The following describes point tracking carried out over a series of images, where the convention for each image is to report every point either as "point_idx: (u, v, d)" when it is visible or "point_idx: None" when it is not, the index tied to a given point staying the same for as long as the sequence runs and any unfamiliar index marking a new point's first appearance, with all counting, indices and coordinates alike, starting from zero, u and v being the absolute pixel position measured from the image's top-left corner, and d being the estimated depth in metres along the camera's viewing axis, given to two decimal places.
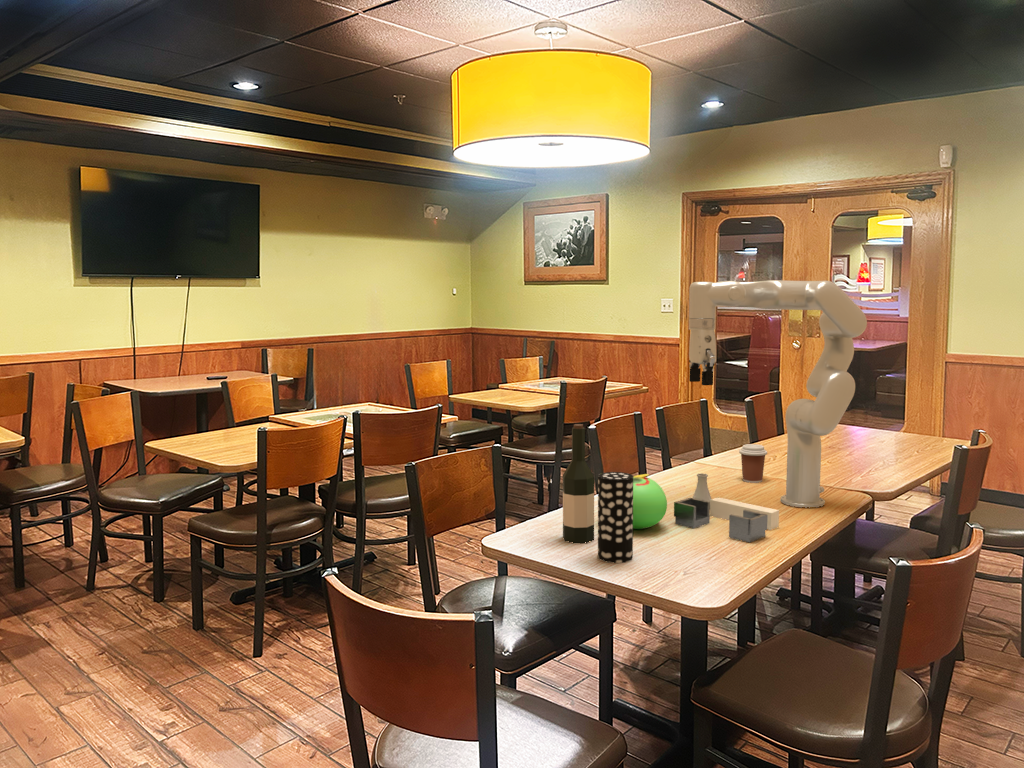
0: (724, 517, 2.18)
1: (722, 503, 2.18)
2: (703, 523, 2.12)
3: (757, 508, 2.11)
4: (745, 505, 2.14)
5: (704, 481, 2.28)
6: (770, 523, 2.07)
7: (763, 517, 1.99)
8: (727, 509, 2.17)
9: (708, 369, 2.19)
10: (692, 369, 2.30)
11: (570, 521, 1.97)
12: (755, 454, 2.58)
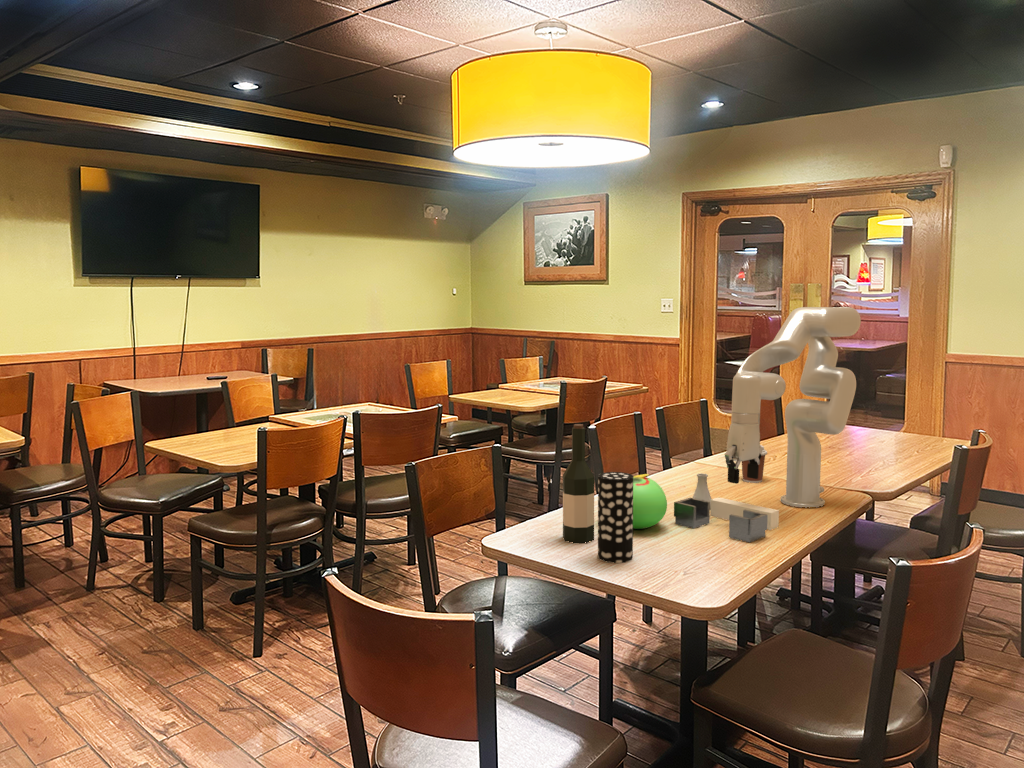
0: (724, 517, 2.18)
1: (722, 503, 2.18)
2: (703, 523, 2.12)
3: (757, 508, 2.11)
4: (745, 505, 2.14)
5: (704, 481, 2.28)
6: (770, 523, 2.07)
7: (763, 517, 1.99)
8: (727, 509, 2.17)
9: None
10: None
11: (570, 521, 1.97)
12: None
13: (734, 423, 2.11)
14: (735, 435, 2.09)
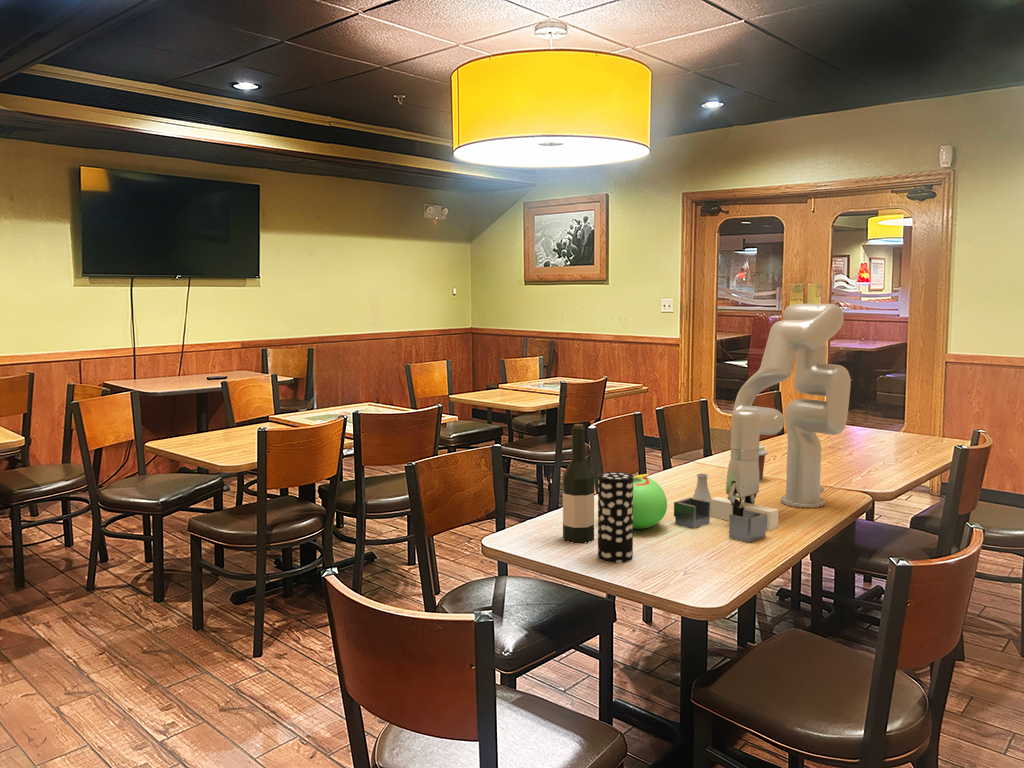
0: (723, 516, 2.17)
1: (722, 502, 2.18)
2: (703, 523, 2.12)
3: (756, 507, 2.11)
4: (745, 504, 2.14)
5: (704, 481, 2.28)
6: (769, 522, 2.07)
7: (763, 517, 1.99)
8: (726, 508, 2.17)
9: None
10: None
11: (570, 521, 1.97)
12: None
13: (733, 459, 2.12)
14: (735, 472, 2.11)
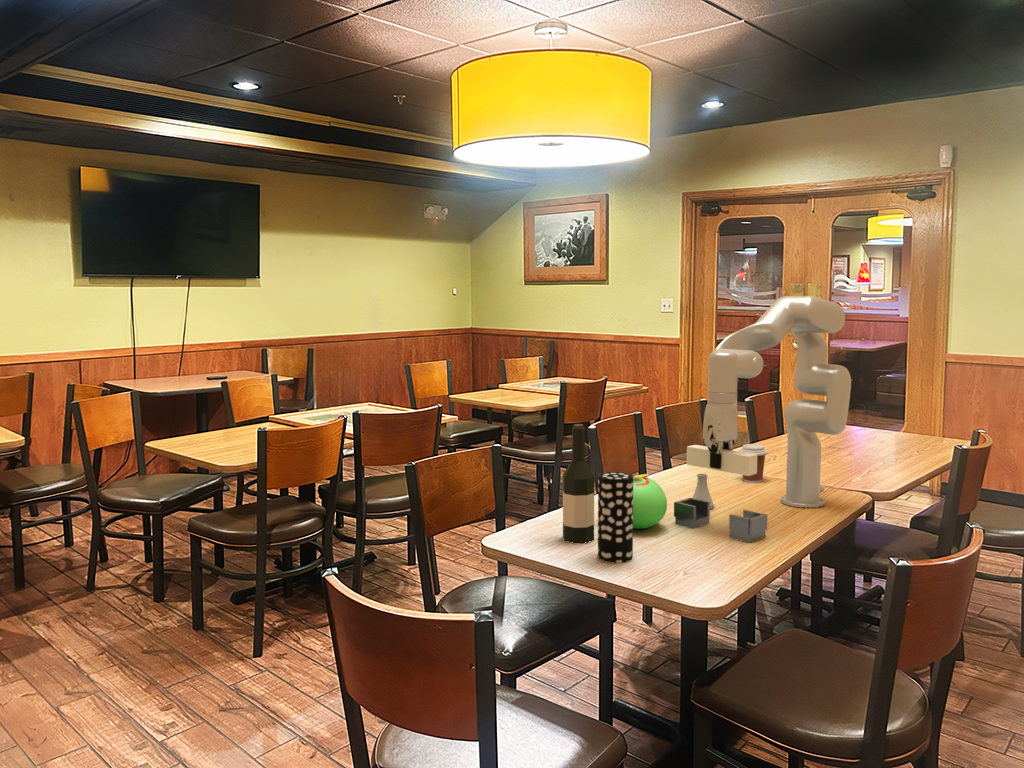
0: (701, 464, 2.08)
1: (699, 449, 2.08)
2: (703, 523, 2.12)
3: (734, 453, 2.01)
4: (722, 450, 2.05)
5: (704, 481, 2.28)
6: (748, 467, 1.97)
7: (763, 517, 1.99)
8: (703, 455, 2.07)
9: None
10: None
11: (570, 521, 1.97)
12: None
13: (710, 403, 2.03)
14: (711, 416, 2.01)
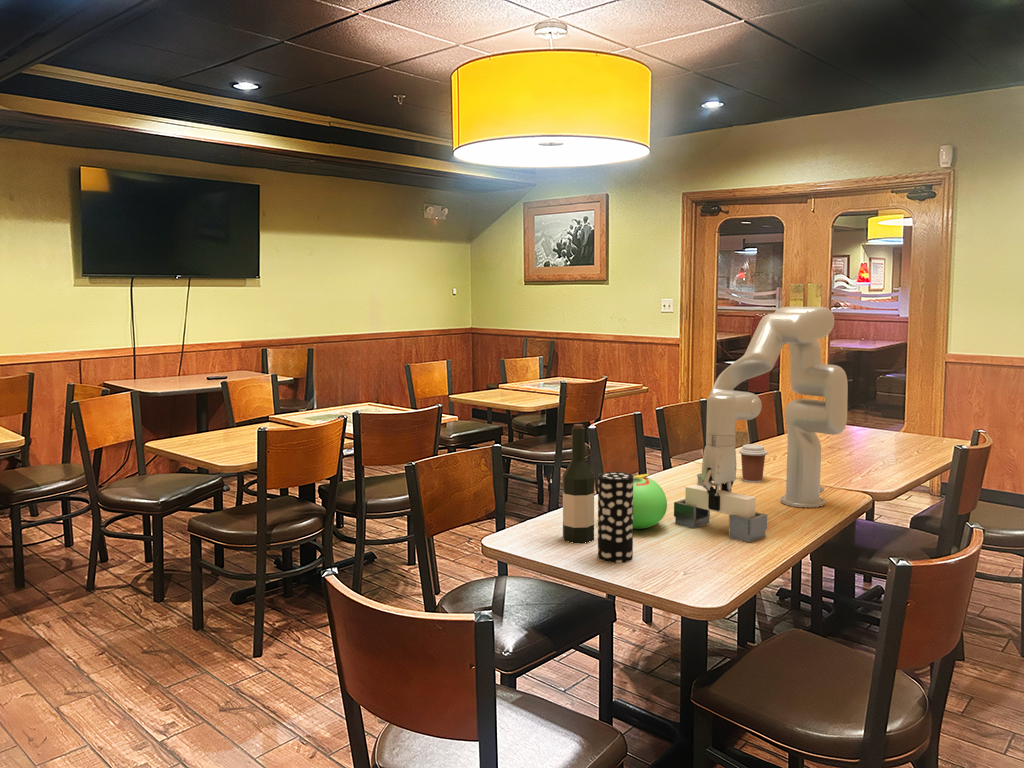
0: (699, 505, 2.09)
1: (697, 490, 2.09)
2: (703, 523, 2.12)
3: (733, 495, 2.03)
4: (721, 492, 2.06)
5: None
6: (746, 510, 1.98)
7: (763, 517, 1.99)
8: (702, 496, 2.08)
9: None
10: None
11: (570, 521, 1.97)
12: (755, 454, 2.58)
13: (709, 445, 2.04)
14: (710, 458, 2.02)
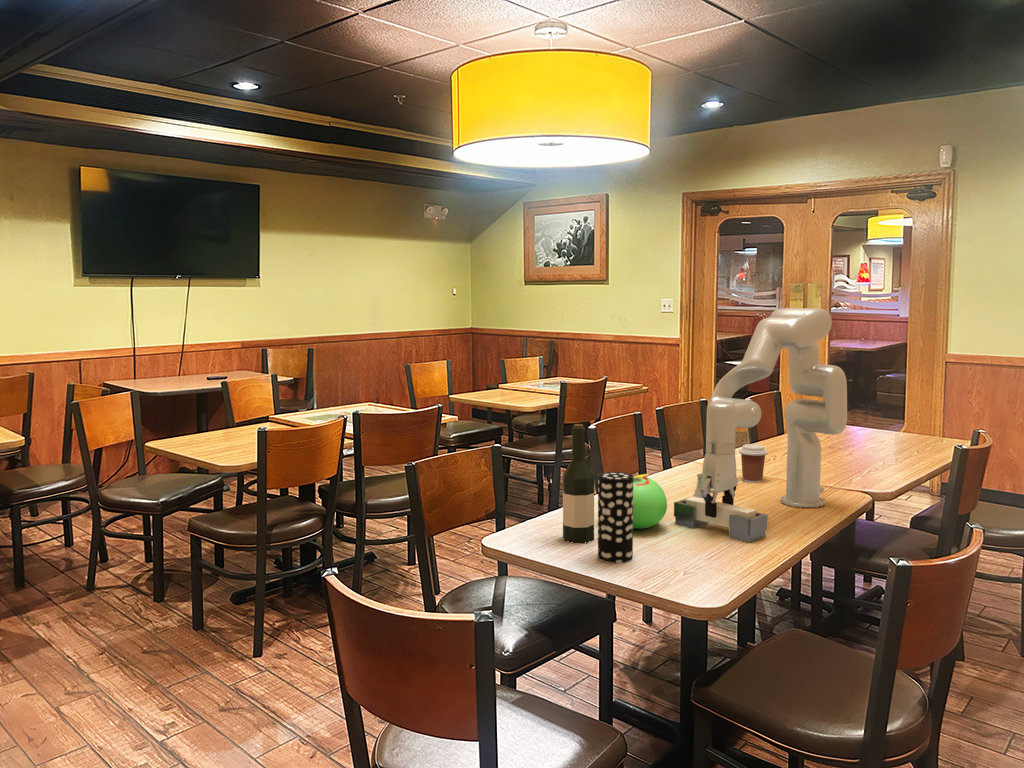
0: (700, 517, 2.10)
1: (698, 503, 2.10)
2: (703, 523, 2.12)
3: (733, 508, 2.03)
4: (721, 505, 2.06)
5: None
6: None
7: (763, 517, 1.99)
8: (702, 508, 2.09)
9: None
10: None
11: (570, 521, 1.97)
12: (755, 454, 2.58)
13: (709, 453, 2.04)
14: (710, 466, 2.02)
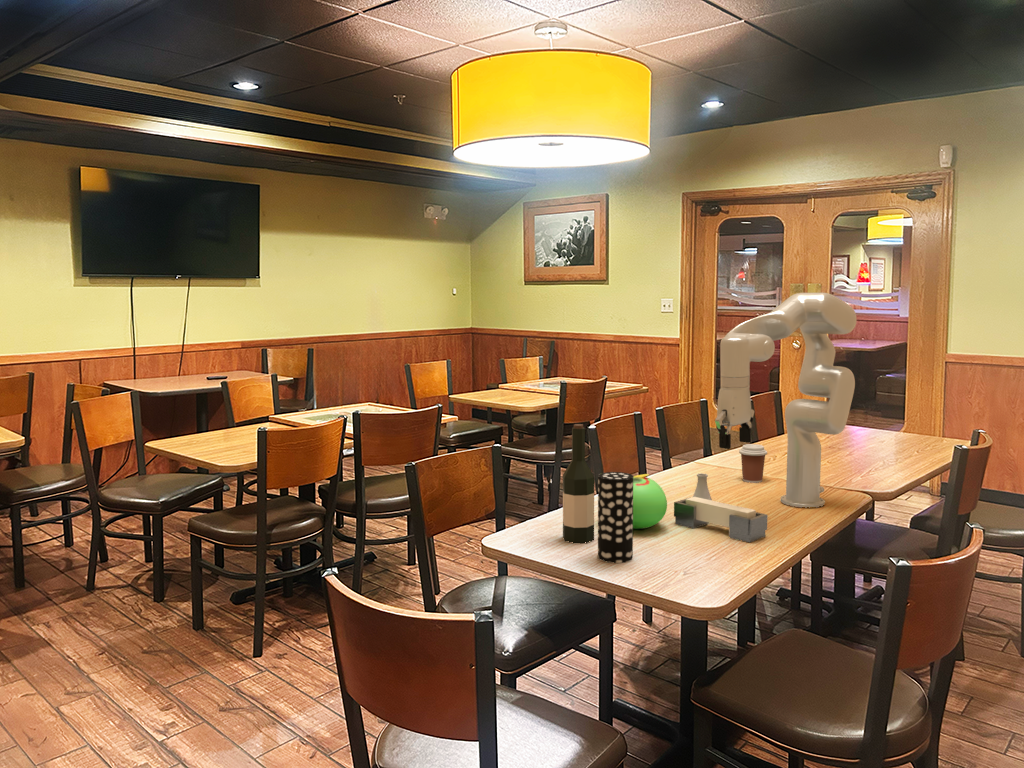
0: (700, 517, 2.10)
1: (698, 503, 2.10)
2: (703, 523, 2.12)
3: (733, 508, 2.03)
4: (721, 505, 2.06)
5: (704, 481, 2.28)
6: None
7: (763, 517, 1.99)
8: (702, 508, 2.09)
9: None
10: None
11: (570, 521, 1.97)
12: (755, 454, 2.58)
13: (723, 387, 2.06)
14: (725, 400, 2.05)
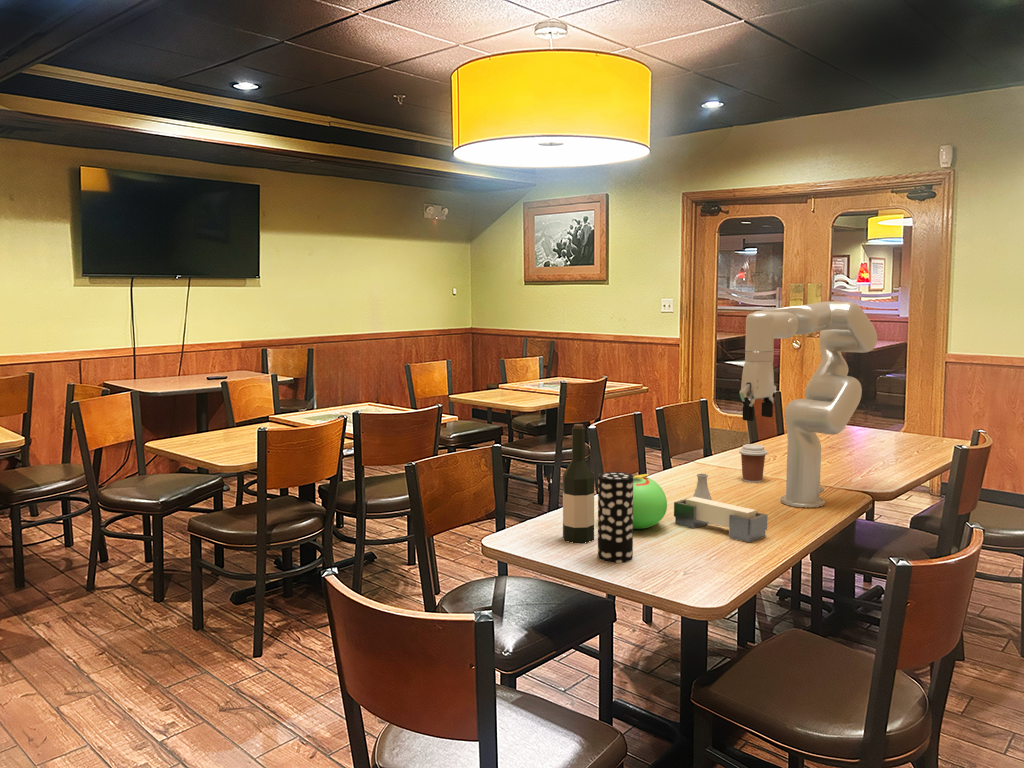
0: (700, 517, 2.10)
1: (698, 503, 2.10)
2: (703, 523, 2.12)
3: (733, 508, 2.03)
4: (721, 505, 2.06)
5: (704, 481, 2.28)
6: None
7: (763, 517, 1.99)
8: (702, 508, 2.09)
9: None
10: None
11: (570, 521, 1.97)
12: (755, 454, 2.58)
13: (748, 361, 2.13)
14: (750, 373, 2.12)
